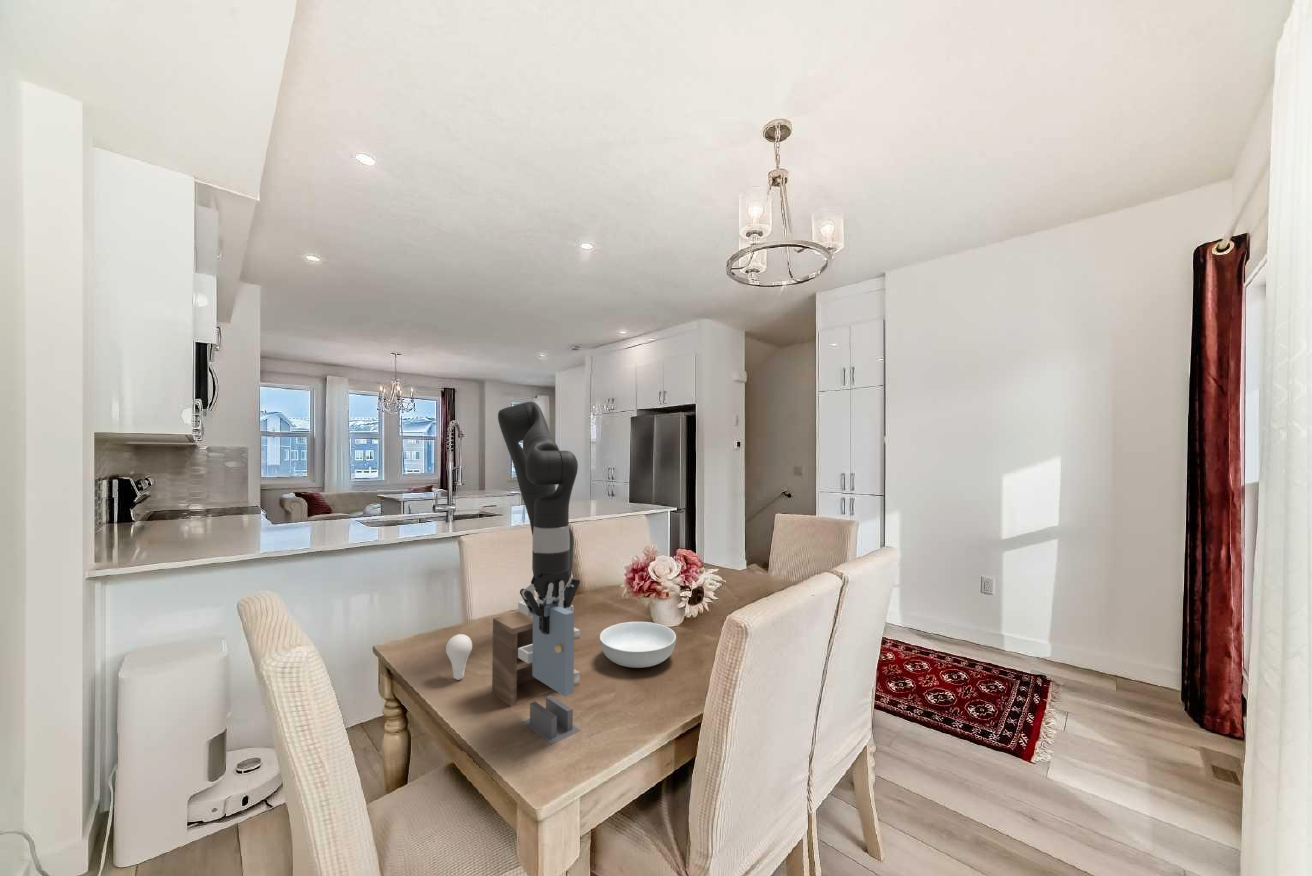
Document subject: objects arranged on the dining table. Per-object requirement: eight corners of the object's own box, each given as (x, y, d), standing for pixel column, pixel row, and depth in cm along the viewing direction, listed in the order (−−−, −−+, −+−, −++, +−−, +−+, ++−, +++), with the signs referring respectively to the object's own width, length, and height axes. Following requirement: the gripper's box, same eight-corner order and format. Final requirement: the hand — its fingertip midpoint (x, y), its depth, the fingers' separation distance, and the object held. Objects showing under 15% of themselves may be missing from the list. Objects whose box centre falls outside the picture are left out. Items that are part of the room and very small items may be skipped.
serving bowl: (583, 666, 134) (584, 640, 134) (625, 640, 153) (625, 617, 153) (653, 685, 124) (653, 656, 124) (688, 654, 143) (688, 629, 143)
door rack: (550, 714, 110) (550, 691, 110) (580, 735, 103) (581, 710, 103) (521, 726, 105) (521, 702, 106) (551, 749, 98) (551, 723, 98)
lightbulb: (450, 674, 129) (450, 630, 129) (474, 673, 129) (475, 630, 130) (441, 685, 123) (442, 640, 123) (467, 685, 123) (468, 639, 123)
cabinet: (553, 673, 130) (554, 602, 130) (579, 688, 122) (580, 613, 122) (492, 696, 118) (493, 618, 118) (515, 714, 110) (516, 631, 110)
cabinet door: (534, 665, 113) (535, 593, 113) (578, 691, 101) (578, 610, 101) (517, 671, 110) (518, 597, 110) (560, 698, 98) (560, 616, 99)
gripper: (568, 540, 112) (567, 618, 112) (511, 549, 103) (510, 635, 103) (589, 545, 107) (588, 628, 107) (531, 555, 97) (530, 646, 97)
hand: (550, 631), depth 105 cm, fingers closed on cabinet door, 2 cm apart
